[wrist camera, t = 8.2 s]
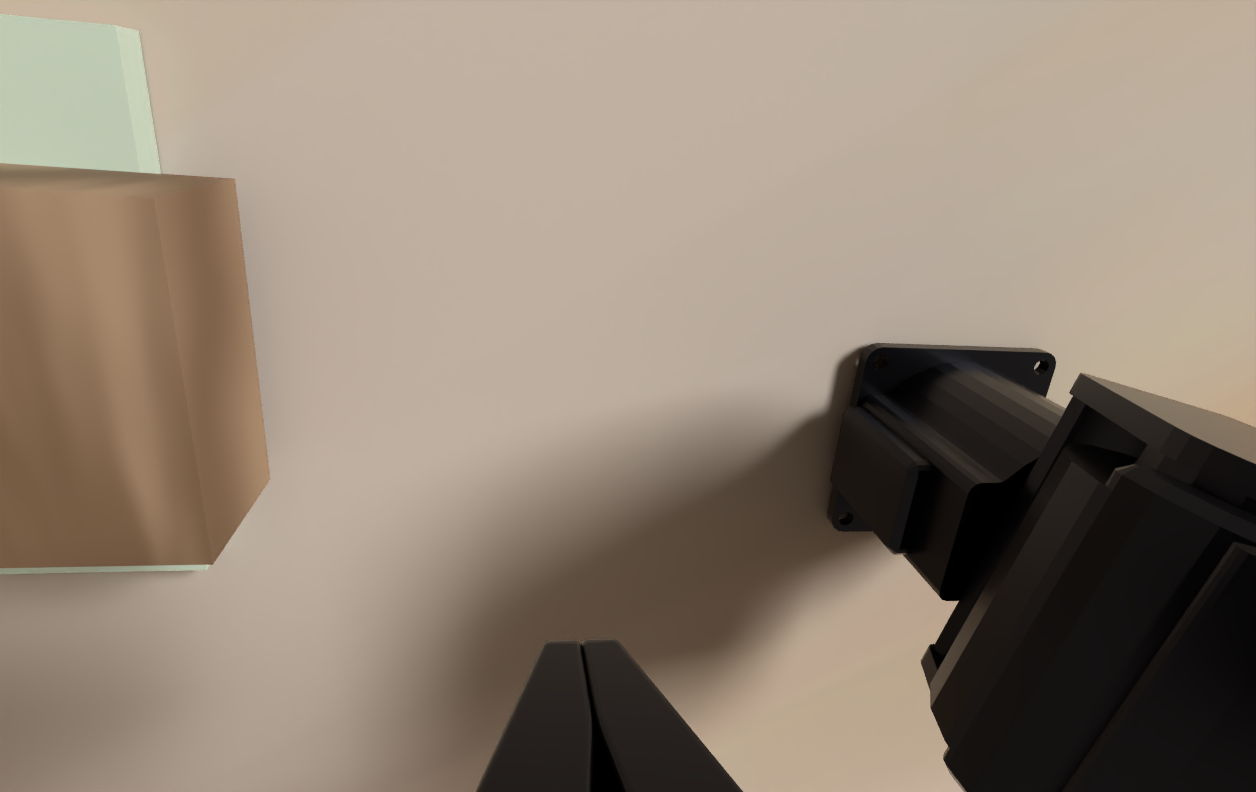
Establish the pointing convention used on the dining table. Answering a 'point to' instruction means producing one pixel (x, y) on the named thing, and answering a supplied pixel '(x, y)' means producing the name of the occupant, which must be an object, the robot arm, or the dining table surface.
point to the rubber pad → (75, 120)
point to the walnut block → (124, 369)
